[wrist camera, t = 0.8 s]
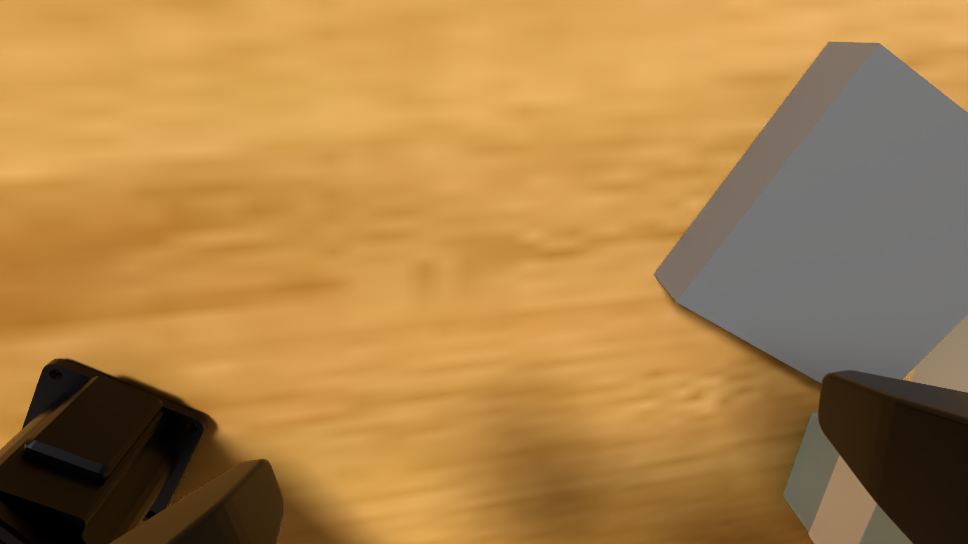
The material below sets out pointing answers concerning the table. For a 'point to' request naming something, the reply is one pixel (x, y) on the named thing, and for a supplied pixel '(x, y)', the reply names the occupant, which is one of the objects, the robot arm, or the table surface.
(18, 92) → the table surface
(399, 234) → the table surface
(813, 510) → the carton
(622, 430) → the table surface
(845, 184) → the podium
